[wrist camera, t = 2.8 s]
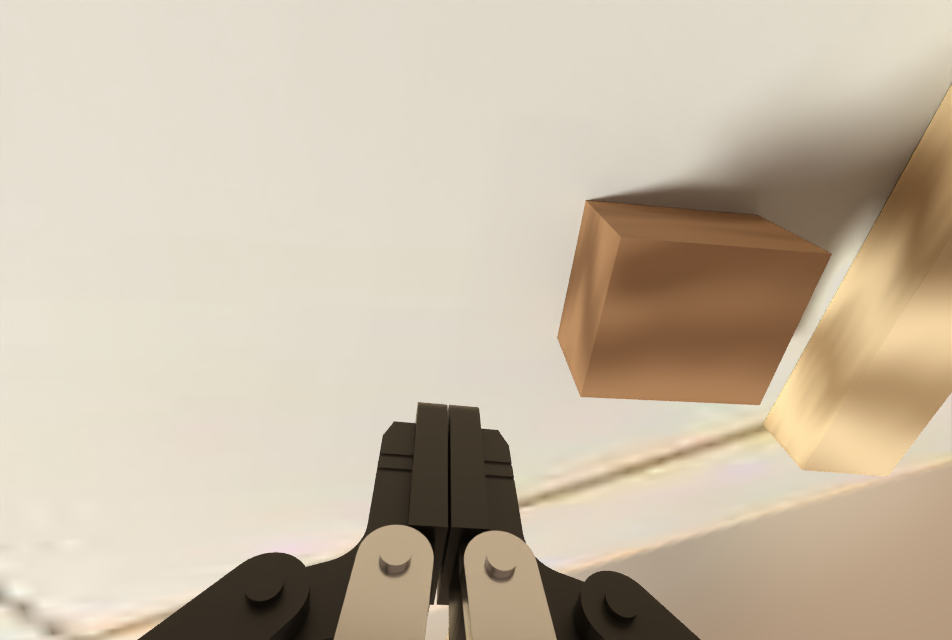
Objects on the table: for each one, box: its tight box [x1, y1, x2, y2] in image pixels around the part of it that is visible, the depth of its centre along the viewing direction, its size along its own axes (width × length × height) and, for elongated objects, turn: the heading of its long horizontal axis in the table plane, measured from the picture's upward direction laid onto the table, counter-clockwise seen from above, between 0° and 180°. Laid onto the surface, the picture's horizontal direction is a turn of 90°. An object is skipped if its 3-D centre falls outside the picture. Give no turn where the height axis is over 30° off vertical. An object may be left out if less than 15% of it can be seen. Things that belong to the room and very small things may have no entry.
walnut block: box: [557, 200, 831, 405], centre depth 21 cm, size 7×8×5 cm
